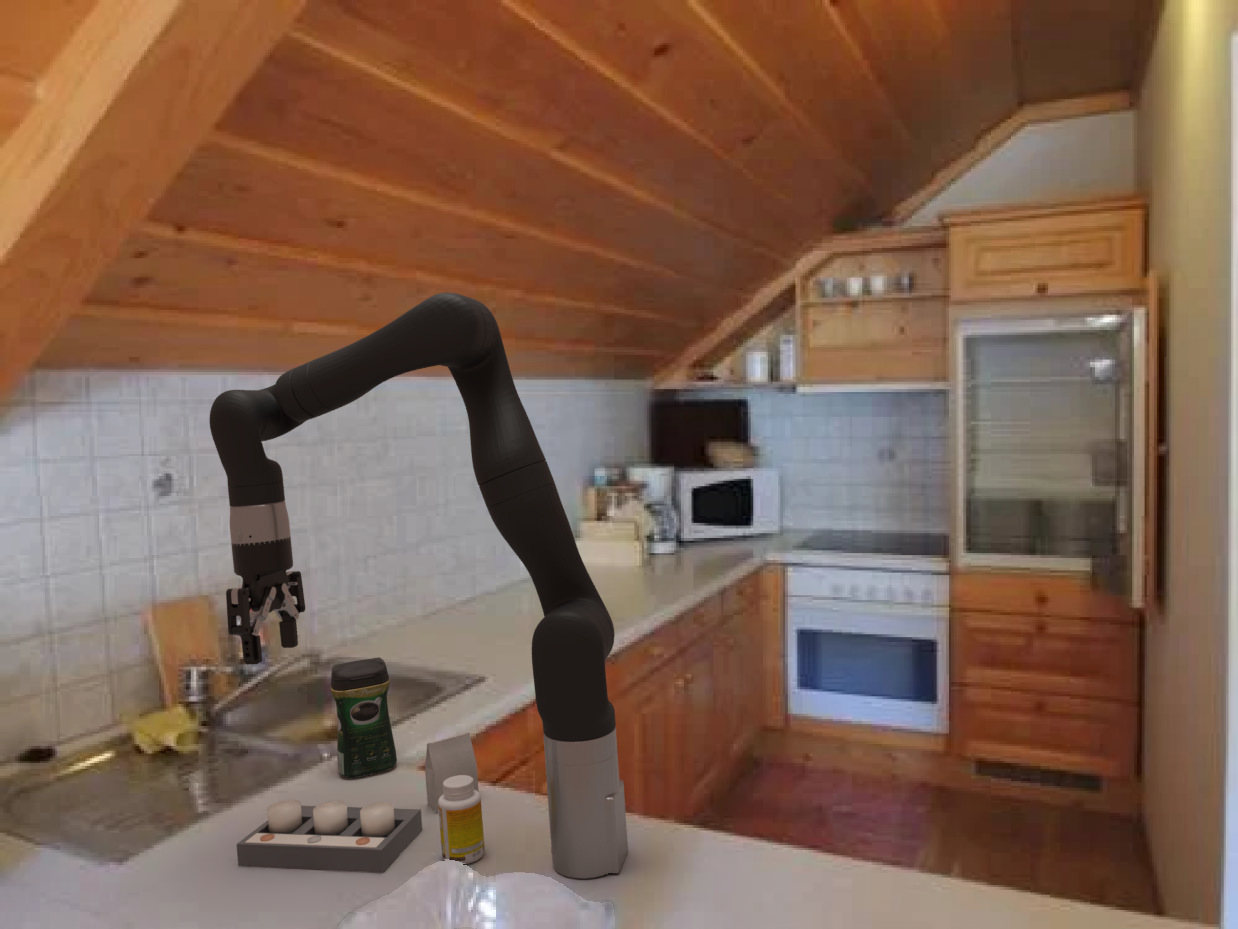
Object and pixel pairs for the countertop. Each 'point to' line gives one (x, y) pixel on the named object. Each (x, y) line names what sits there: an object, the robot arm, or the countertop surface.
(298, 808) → the button
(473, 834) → the supplement bottle
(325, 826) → the middle button
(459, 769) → the grey carton box
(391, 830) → the button
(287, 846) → the button board
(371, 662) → the coffee jar
